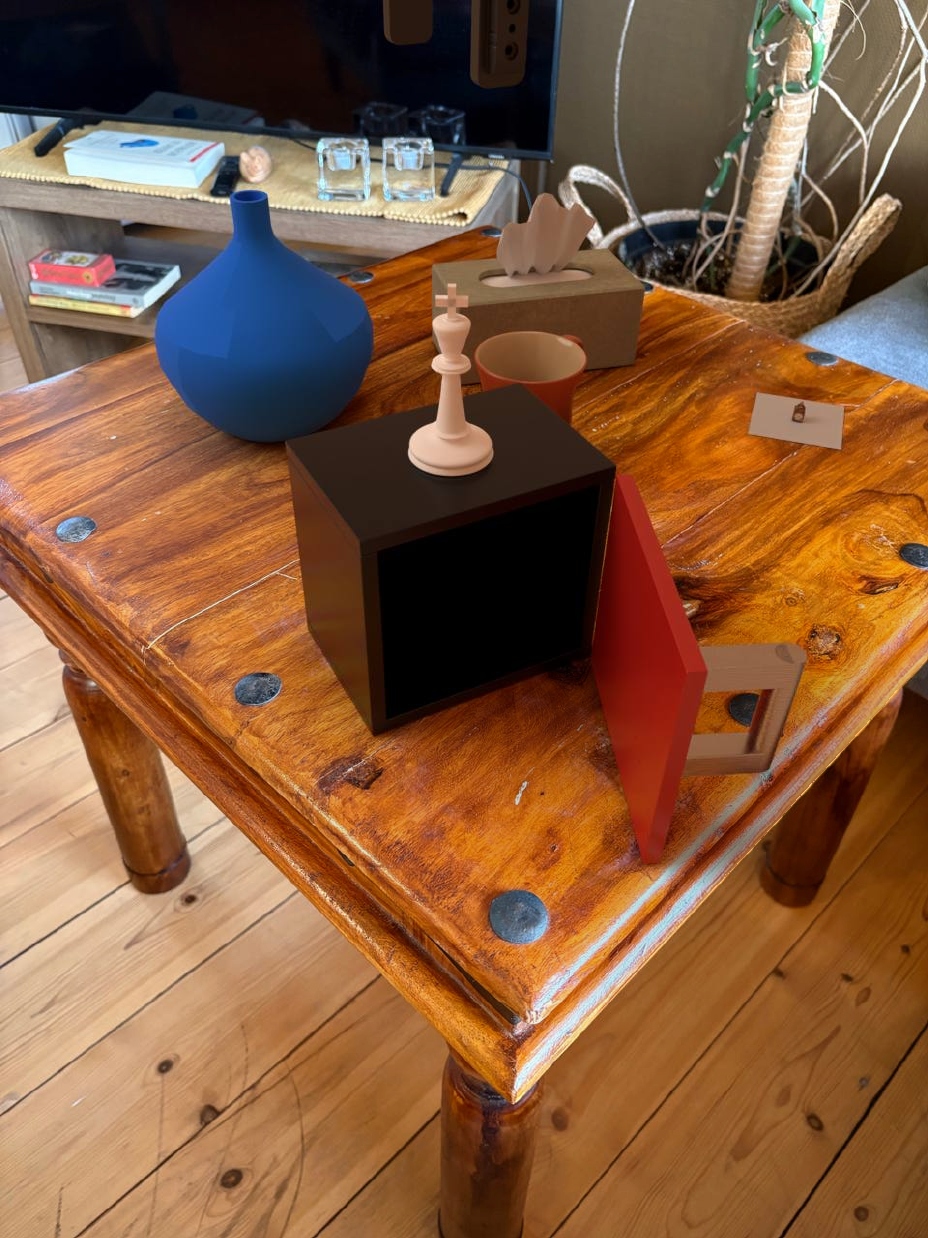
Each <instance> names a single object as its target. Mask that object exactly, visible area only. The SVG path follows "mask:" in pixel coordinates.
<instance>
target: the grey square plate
mask: <svg viewBox="0 0 928 1238" xmlns="http://www.w3.org/2000/svg"><path fill="white" fill-rule="evenodd" d="M844 413H845V406H844V405H837V404H833V403H826V402H820V401H813V400H808V399H801V398H795V397H789V396H783V395H775V394H769V393H764V392H758V391H756V395H755V399H754V405H753V410H752V414H751V419H750V423H749V427H748V428H749V429H748V433H747V435H752V436H758V437H764V438H770V439H775V440H781V441H788V442H793V443H798V444H804V445H811V446H816V447H823V448H827V449H828V448H829V449H833V450H840V451H842V444H843V443H842V442H843V431H844V430H843V428H844Z"/></svg>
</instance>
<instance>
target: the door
mask: <svg viewBox="0 0 928 1238" xmlns="http://www.w3.org/2000/svg"><path fill="white" fill-rule="evenodd" d="M614 481H615V482H614V489H613V497H612V504H611V511H610V518H609V526H608V533H607V540H606V547H605V554H604V562H603V569H602V576H601V583H600V591H599V598H598V605H597V612H596V620H595V627H594V634H593V641H592V649H591V655H590V665H591V668H592V672H593V676H594V679H595V684H596V688H597V691H598V694H599V695H598V696H599V699H600V703H601V707H602V710H603V715H604V719H605V722H606V726H607V731H608V734H609V738H610V742H611V745H612V750H613V754H614V758H615V762H616V766H617V769H618V773H619V778H620V780H621V785H622V788H623V792H624V796H625V800H626V804H627V808H628V812H629V816H630V820H631V823H632V827H633V831H634V835H635V839H636V843H637V847H638V850H639V851H638V852H639V854H640V858H641V862H642V864H644V865H645V864H647V865H648V864H659V863H661V861H662V858H663V857H662V856H663V853H664V849H665V845H666V841H667V837H668V833H669V829H670V824H671V821H672V817H673V813H674V809H675V805H676V801H677V798H678V793H679V789H680V785H681V782H682V779H683V778H694V777H695V778H697V777H713V776H714V777H715V776H726V775H727V776H729V775H748V774H749V775H750V774H763V773H766V772H767V771H769V770H770V769H771V767H772V765H773V761H774V758H775V755H776V753H777V750H778V746H779V744H780V741H781V738H782V735H783V732H784V729H785V727H786V723H787V720H788V717H789V714H790V711H791V708H792V706H793V703H794V700H795V697H796V694H797V691H798V688H799V685H800V682H801V678H802V676H803V674H804V670H805V668H806V665H807V661H808V654H807V651H806V650H805V649H804V648H803V647H801V646H800V645H798V644H796V643H792V642H770V643H766V642H765V643H747V644H727V645H726V644H725V645H706V646H705V645H703V646H700V645H699V644H698V642H697V639H696V635H695V633H694V630H693V628H692V626H691V623H690V620H689V618H688V615H687V612H686V610H685V607H684V605H683V602H682V599H681V597H680V594H679V591H678V589H677V586H676V583H675V581H674V578H673V575H672V573H671V570H670V567H669V565H668V562H667V559H666V557H665V555H664V552H663V549H662V547H661V544H660V541H659V538H658V536H657V534H656V531H655V529H654V525H653V523H652V520H651V517H650V515H649V512H648V510H647V507H646V505H645V502H644V499H643V497H642V494H641V492H640V489H639V485H638V484H637V481H636V478H635V476H634V474H632V473H631V474H616V476H615V480H614ZM741 691H760V693H759V696H758V699H757V702H756V706H755V710H754V712H753V715H752V719H751V721H750V722H751V723H750V725H749V729H748V731H737V732H734V731H733V732H720V733H719V732H717V733H699V734H694V729H695V725H696V722H697V717H698V714H699V710H700V706H701V702H702V699H703V698H702V697H703V695H704V694H703V693H719V692H720V693H721V692H741Z"/></svg>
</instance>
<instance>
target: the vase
mask: <svg viewBox="0 0 928 1238" xmlns="http://www.w3.org/2000/svg"><path fill="white" fill-rule="evenodd" d="M229 203H230V211H231V219H232V225H233V231H232V238H231V239H230V241H229V242H228V244H227V246H226V248H225V249H224V250H223V251H222V252H221V253H219V254H218V255H217V256H216V257H215V258H214V259H213V260H212V261H211V262H210V263H208V264H207V266H206V267H204V268H203V269H202V270H201V271H200V272H199V273H198V274H197V275H196V276H194V278H192V279H191V280H190V281H189V282H188V283H187V284H185V285H184V286H182V287H181V289H179V290H178V291H177V292H176V293H174V294H172V295H171V297H169V299H167V300H166V301H165V302H164V303H163V305H162V306H161V308H160V310H159V312H158V313H157V317H156V322H155V328H154V346H155V350H156V354H157V358H158V363H159V367H160V368H161V370H162V372H163V373H164V375H165V377H166V378H167V380H168V381H169V383H170V384H171V386H172V387H173V388H174V390H175V391H176V392H177V394H178V396H179V397H180V398H181V400H182V401H183V403H184V404H185V406H186V407H187V408H188V409H190V410H191V411H193V412H194V413H195V414H196V415H198V417H201V419H203V420H204V421H205V422H207V423H208V424H209V425H211V426H212V427H213V428H215V429H216V430H219V431H221V432H223V433H227V434H229V435H232V436H234V437H236V438H238V439H241V440H246V441H251V442H257V443H280V442H285V441H286V440H290V439H294V438H298V437H302V436H307V435H311V434H315V433H317V432H318V431H319V430H320V429H322V428H323V427H325V426H327V425H328V424H329V423H331V422H332V421H334V420H336V419H337V418H338V417H340V415H341V414H342V412H343V411H344V410H345V408H346V407H347V406H348V405H349V404H350V402H351V401H352V400H353V399H354V397H355V396H356V395H357V393H358V392H360V389H361V387H362V384H363V381H364V379H365V376H366V373H367V372H368V369H369V366H370V363H371V360H372V356H373V352H374V348H375V342H374V341H375V339H374V323H373V320H372V317H371V314H370V312H369V309H368V307H367V304H366V302H365V300H364V298H363V296H362V295H360V294H359V293H358V292H357V291H356V290H355V289H354V288H353V287H352V286H349V285H348V284H346V283H345V282H343V281H342V280H340V279H339V278H336V277H334V276H333V275H331V274H329V273H328V272H326V271H324V270H323V269H322V268H320V267H318V266H316V265H314V264H313V263H311V262H310V261H308V259H305V258H304V257H303V256H301V255H300V254H299V253H297V252H295V251H293V250H292V249H291V248H289V247H288V246H286V245H284V244H283V242H282V241H281V240H280V239H279V238H278V237H277V236H276V235H275V234H274V230H273V228H272V222H271V213H270V204H269V196H268V193H267V192H265V191H263V190H257V189H243V190H238V191H235V192H233V193H231V194H230V195H229Z"/></svg>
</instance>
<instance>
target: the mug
mask: <svg viewBox="0 0 928 1238" xmlns="http://www.w3.org/2000/svg"><path fill="white" fill-rule="evenodd" d="M474 358H475V363H476V366H477V370H478V373H479V376H480V380H481V383H480V384H481V392H483V391H487V390H491V389H495V388H499V387H503V386H507V385H511V384H515V383H521V384H523V385H524V386H525V387H526V388H527V389H528V390H530V391H531V392H532V393H533V394H534V395H535V396H537V397H538V398H539V399H540V400H541V401H542V402H543V403H545V404H546V405H547V406H548V407H549V408H550V409H552V410H553V411H554V412H555V413H556V414H557V415H559V416H560V417H561V418H562V419H563V420H564V421H566V422H567V423H568V424H569V425H570V426H571V427H573V409H574V400H575V399H574V398H575V395H576V391H577V388H578V386H579V383H580V381H581V379H582V376H583V374H584V373H585V371H586V370H585V368H586V365H587V356H586V354H585V352H584V347H583V342H582V340H581V339H580V338H578V337H576V336H573V335H568V334H566V335H562V336H558V335H554V334H550V333H545V332H537V331H519V332H510V333H504V334H500V335H497V336H494V337H491V338H489V339H487V340H485V341H484V342H482V343H481V344H480V345H479V346H478V347H477V349H476V351H475V355H474Z"/></svg>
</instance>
